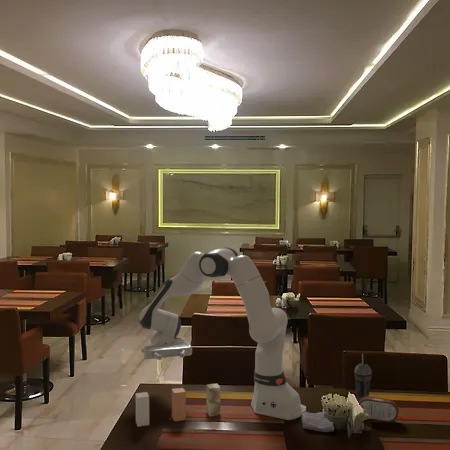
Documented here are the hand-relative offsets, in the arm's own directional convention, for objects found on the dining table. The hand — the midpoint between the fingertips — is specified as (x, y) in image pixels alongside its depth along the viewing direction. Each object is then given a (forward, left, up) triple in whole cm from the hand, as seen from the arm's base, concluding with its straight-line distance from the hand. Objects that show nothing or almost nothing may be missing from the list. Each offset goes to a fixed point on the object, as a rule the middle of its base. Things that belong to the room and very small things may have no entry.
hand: (171, 356), depth 209 cm
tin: (-71, -39, -20) cm, 84 cm away
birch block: (-18, -5, -20) cm, 28 cm away
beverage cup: (-59, -53, -20) cm, 82 cm away
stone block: (-56, -20, -21) cm, 63 cm away
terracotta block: (-10, +7, -20) cm, 24 cm away
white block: (-2, +18, -20) cm, 27 cm away
